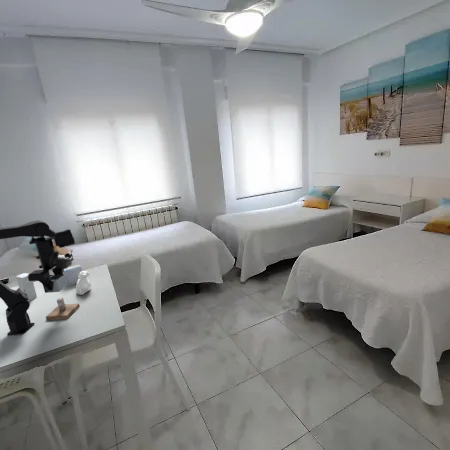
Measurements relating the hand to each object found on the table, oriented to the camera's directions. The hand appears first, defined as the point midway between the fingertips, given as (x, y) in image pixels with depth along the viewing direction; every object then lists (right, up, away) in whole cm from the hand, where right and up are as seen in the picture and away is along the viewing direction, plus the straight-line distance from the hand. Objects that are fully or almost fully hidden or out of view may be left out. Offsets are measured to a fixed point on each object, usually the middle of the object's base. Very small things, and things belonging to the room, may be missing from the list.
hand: (56, 286), depth 112 cm
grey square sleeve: (0, -1, 0) cm, 1 cm away
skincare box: (-25, -10, +20) cm, 34 cm away
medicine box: (-10, -5, +33) cm, 35 cm away
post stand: (+1, -12, +3) cm, 13 cm away
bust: (+1, -7, +22) cm, 23 cm away
